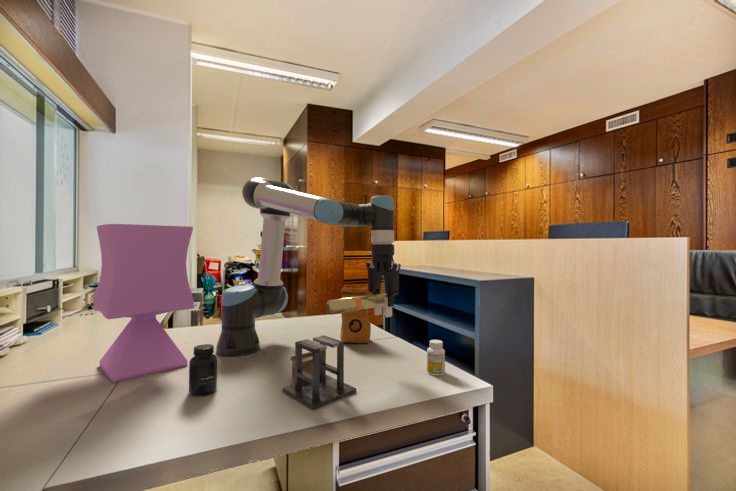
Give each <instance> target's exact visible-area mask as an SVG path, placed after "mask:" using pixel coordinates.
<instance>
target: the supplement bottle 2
mask: <svg viewBox="0 0 736 491" xmlns="http://www.w3.org/2000/svg"><path fill="white" fill-rule="evenodd" d="M443 343H444V342H443V341H442V340H440V339H431V340H429V347H427V350H426V371H427V373H428V374H429V375H431V376H434V377H435V376H436V377H437V376H438V377H441V376H443V375H445V374H446V373H445V372H446V368H445V367H446V363H445V362H446V350H445V349H444V348H443V346H444V344H443Z"/></svg>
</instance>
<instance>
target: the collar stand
mask: <svg viewBox="0 0 736 491" xmlns="http://www.w3.org/2000/svg"><path fill="white" fill-rule="evenodd" d="M328 347H330V348H333V349H334V348H336V367H335V366H333V365H330V364H328V363H327V353H326V352H327V348H328ZM303 350H306V351H307V352H312V375H310V374H308V373H306V372H304V371H302V354H303ZM344 354H345V342H343V341H341V339H340V340H339V339H336V338H333V337H329V336H327V335H325V334H324V335H323V334H322V335H319V336H315V337H313V338H312V340H310V339H308V338H307V339H303V340H298V341H295V342H294V356H295V379H294V383H293V384H290V385H287V386H283V387H282V393H284V394H285V395H287V396H289V397H290V398H292V399H294V400H296V401H297V402H299V403H301V404H302V405H304V406H306V407H307V408H309V409H310V410H312V411H314V410H317V409H319V408H322V407H323V406H326V405H329V404H332V403H334V402H336V401H339V400H341V399H344V398H347V397H348V396H351V395H353V394H355V393H357V388H356V387H354V386H352V385H350V384H347V383H345V380H344V379H345V377H344V373H345V372H344V370H345V361H344V359H345V358H344V357H345V355H344ZM326 372H329V373H332V374H334V375H336V378H334V377H331V376H329V375H327V373H326ZM302 379H304V380H305V381H302Z"/></svg>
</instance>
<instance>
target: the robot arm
mask: <svg viewBox="0 0 736 491" xmlns="http://www.w3.org/2000/svg"><path fill="white" fill-rule="evenodd" d="M241 189H242V191H241V193H242V198H243V201H245V203H246V204H247V205H248V206H250V207H251V208H255V209H259V215H261V217H262V219H263V221H262V223H263V224H262V232H261V243H260V252H259V253H260V254H259V263H258V264H259V265H258V274H257V275H258V276H257V278H256V279H254V281H253V285H252V284H244V285H243V284H242V285H235V286H231V287H228V288H226V289H224V290H223V292H222V294H221V302H220V304H221V331H220V334H219V338H218V340H217V343H216V347H215V350H216V351H215V353H216V354H217V355H219V356H223V357H238V356H245V355H250V354H252V353H255V352H258V351H259V350H260V348H261V345H260V344H261V341H260V339H259V336H258V333H257V330H256V319H257V318H261V317H266V316H273V315H275V314H278V313H280V312H282V311H283V310H284V309H285V308H286V306H287V304H288V302H289V300H288V299H289V294H288V291H287V288H286V287H285V286H284V282H283V281H282V279H281V271H282V263H283V262H282V261H283V253H284V252H283V251H284V241H285V232H286V221H287V220H289V218H291V214H292V215H296V216H299V217H303V218H306V219H312V220H314V221H315V220H316V221H317V222H319V223H322V224H324V225H329V226H330V225H331V226H334V225H336V226H341V227H344V228H357V227H370V228H371V229H370V234H371V235H370V240H371V241H370V242H371V243H372V245H371V247H370V250H371V251H370V252H371V254H370V255H371V256H372V260H371V261H370V262H366V264H365V265H366V268H367V292H369V293H370V294H371V295H376V294H382V292H381V289H382V288H381V287H382V286H381V285H382V280H384V287H385V293H386V295H385V306H384V318H390V317H393V307H394V297H395V296H397V295H399V293H400V270H401V267H402V265H401V264H400V263H397V262H395V260H394V255H395V245H394V244H393V243H394V242H395V204H394V198H393V197H392V196H391V195H384V194H383V195H373V196H371V197H370V202H368V203H361V204H360V203H359V204H358V203H357V204H356V203H351V202H348V201H341V200H336V199H334V198H333V199H332V198H327V197H322V196H319V195H314V194H309V193H306V192H301V191H296V190H295V189H294V187H293V186H292V185H291V184H288V183H285V182H284V181H283V182H282V181H277V180H273V179H269V178H265V177H264V178H263V177H253V178H250V179H249V180H247V181H246V182H245V183H244V185H243V187H242V188H241ZM373 309H374V316H380V315H381V316H382V313H383V312H382V310H383V306H381V307H375V308H373Z"/></svg>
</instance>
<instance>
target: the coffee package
mask: <svg viewBox="0 0 736 491" xmlns="http://www.w3.org/2000/svg"><path fill="white" fill-rule="evenodd" d="M340 292H341V299H342V298H350V297H359V296H367V295H368V287H355V288H354V287H341V290H340ZM369 312H370V311H369V308H368V309H362V310H358V311H349V312H343V313H340V315H341V327H340V337H339V338H340V341H343V342H344V343H349V344H350V343H351V344H352V343H353V344H369V341H370V339H371V333H372V329H371V328H372V326H371V320H370V317H369Z"/></svg>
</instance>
